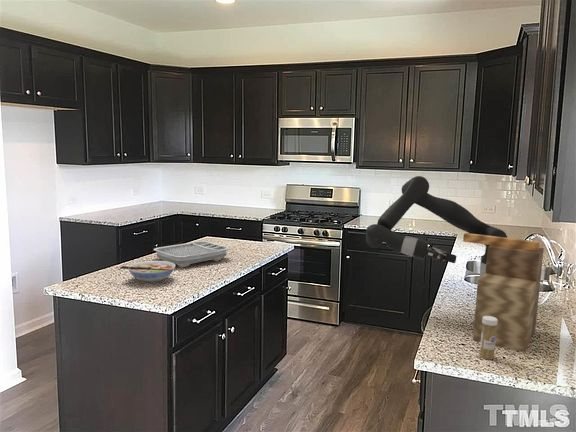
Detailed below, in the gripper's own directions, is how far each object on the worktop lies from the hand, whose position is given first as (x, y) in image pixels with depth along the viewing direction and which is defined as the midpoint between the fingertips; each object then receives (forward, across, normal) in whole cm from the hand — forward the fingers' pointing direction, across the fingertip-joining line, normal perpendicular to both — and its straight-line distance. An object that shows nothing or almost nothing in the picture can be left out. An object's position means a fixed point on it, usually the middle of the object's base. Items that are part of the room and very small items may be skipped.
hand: (455, 259), depth 184 cm
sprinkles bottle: (+17, -28, +25) cm, 41 cm away
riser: (+24, -5, +21) cm, 32 cm away
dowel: (+13, -1, -10) cm, 17 cm away
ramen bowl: (-132, 0, +52) cm, 142 cm away
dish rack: (-138, +44, +49) cm, 153 cm away
